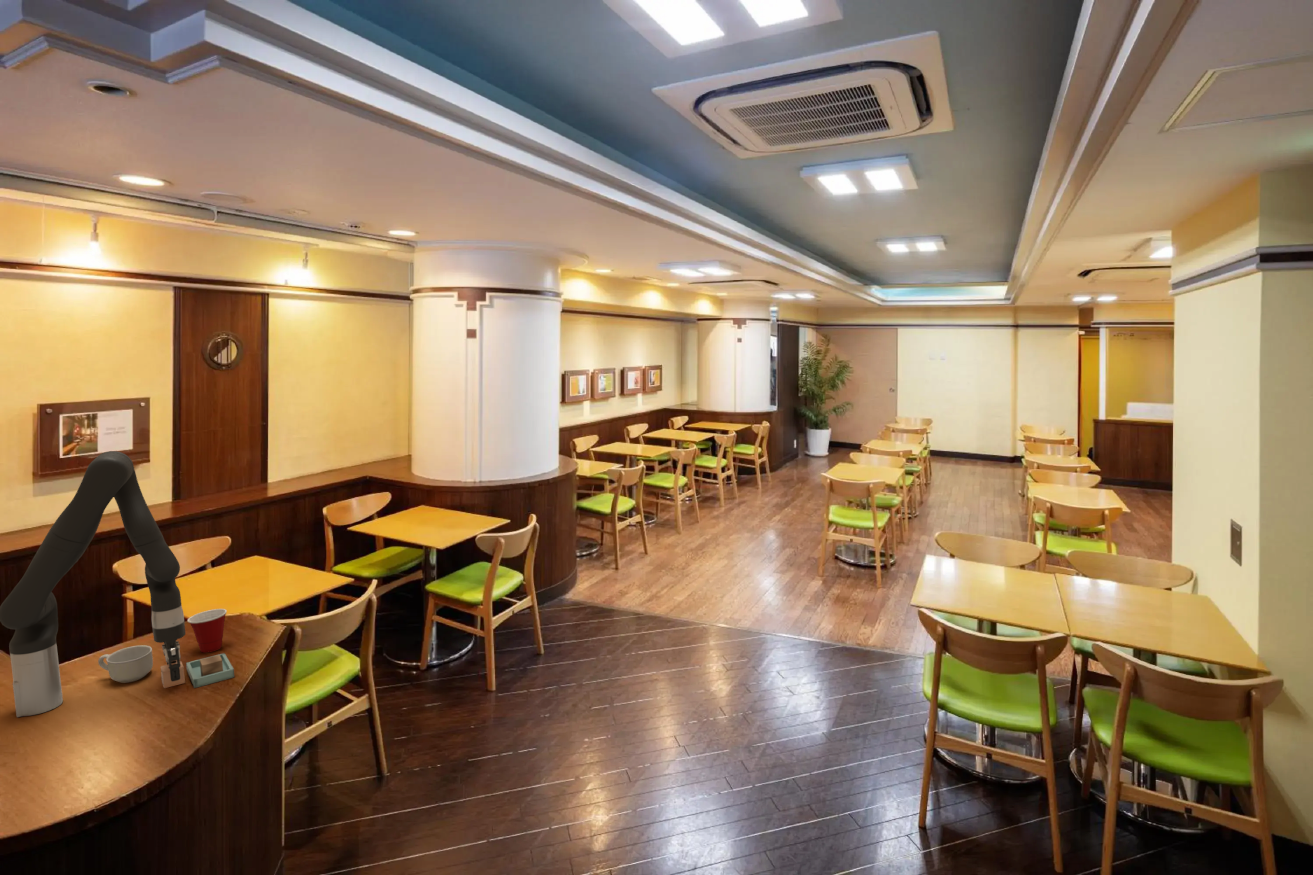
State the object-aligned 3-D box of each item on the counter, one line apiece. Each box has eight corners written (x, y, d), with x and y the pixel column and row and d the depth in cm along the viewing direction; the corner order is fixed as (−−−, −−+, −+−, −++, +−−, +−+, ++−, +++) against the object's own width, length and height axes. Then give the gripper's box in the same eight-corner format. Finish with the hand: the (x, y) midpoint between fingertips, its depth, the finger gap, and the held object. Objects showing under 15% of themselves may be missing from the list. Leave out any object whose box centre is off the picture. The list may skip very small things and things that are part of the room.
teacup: (163, 670, 203) (161, 645, 202) (132, 687, 192) (129, 661, 191) (122, 668, 204) (119, 643, 203) (88, 685, 194) (86, 659, 193)
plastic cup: (195, 645, 221) (191, 610, 220) (232, 639, 225) (229, 606, 224) (186, 658, 211) (183, 622, 210) (225, 652, 215) (222, 617, 214)
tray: (194, 687, 192) (193, 679, 191) (186, 670, 203) (186, 662, 202) (234, 676, 198) (233, 669, 198) (225, 660, 209) (224, 653, 209)
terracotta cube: (164, 688, 192) (162, 672, 191) (162, 682, 196) (160, 666, 195) (185, 682, 195) (183, 666, 195) (182, 676, 199) (181, 661, 198)
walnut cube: (203, 681, 194) (202, 665, 194) (201, 675, 198) (199, 659, 198) (223, 676, 198) (222, 660, 197) (220, 670, 201) (219, 654, 201)
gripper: (187, 625, 190) (192, 679, 192) (181, 612, 201) (186, 663, 203) (154, 633, 185) (160, 688, 187) (150, 619, 196) (156, 671, 198)
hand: (174, 675), depth 195 cm, fingers open, 8 cm apart
